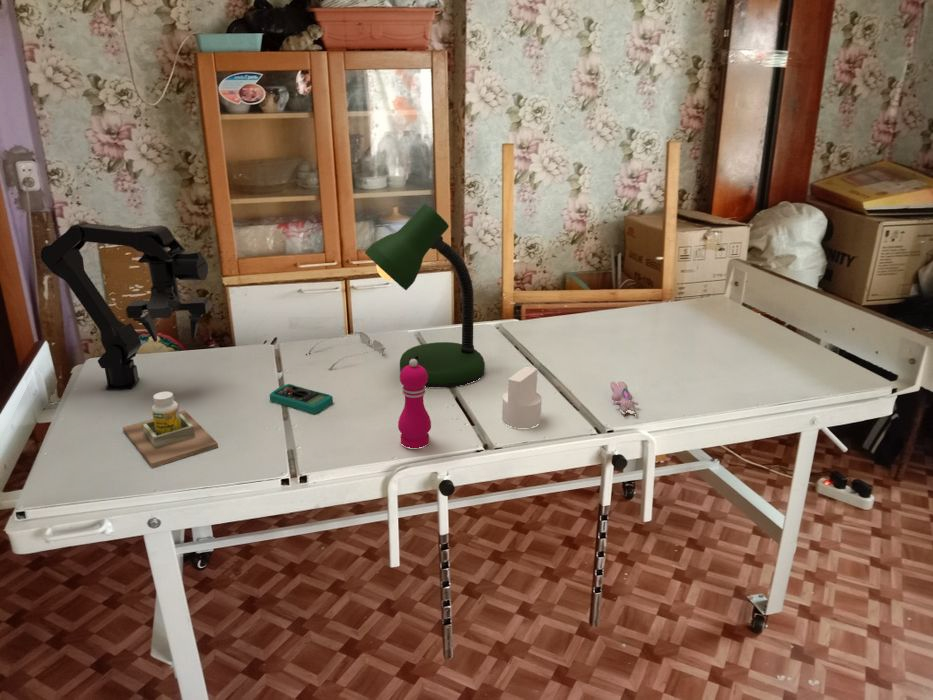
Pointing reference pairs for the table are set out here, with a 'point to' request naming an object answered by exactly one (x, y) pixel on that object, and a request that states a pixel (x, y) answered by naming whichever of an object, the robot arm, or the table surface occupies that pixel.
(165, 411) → the supplement bottle
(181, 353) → the table surface
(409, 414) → the pepper mill
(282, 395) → the digital multimeter
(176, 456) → the bottle holder
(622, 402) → the rabbit figure
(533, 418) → the cylinder with rectangular tab
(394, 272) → the desk lamp
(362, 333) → the eyeglasses
